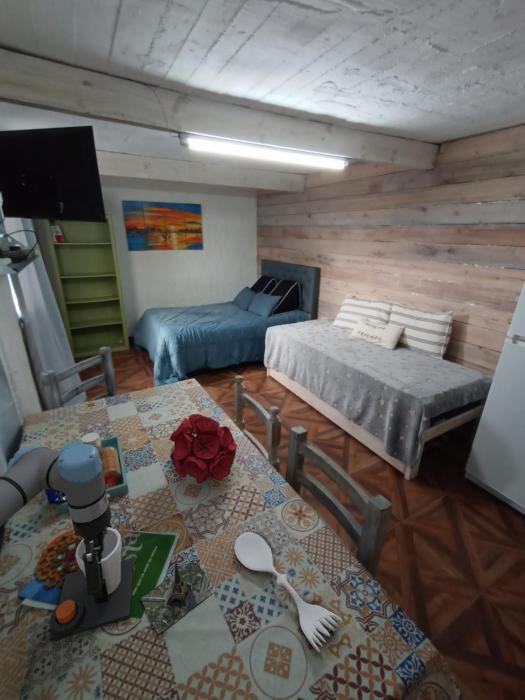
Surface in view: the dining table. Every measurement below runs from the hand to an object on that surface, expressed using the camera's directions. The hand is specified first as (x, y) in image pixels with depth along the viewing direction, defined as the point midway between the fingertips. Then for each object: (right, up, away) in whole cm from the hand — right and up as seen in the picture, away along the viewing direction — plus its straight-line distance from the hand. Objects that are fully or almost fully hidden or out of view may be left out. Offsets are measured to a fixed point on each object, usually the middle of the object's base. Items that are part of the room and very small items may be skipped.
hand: (105, 578), depth 77 cm
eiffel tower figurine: (+18, -4, 0) cm, 19 cm away
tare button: (-5, -3, -7) cm, 9 cm away
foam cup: (0, -2, +1) cm, 2 cm away
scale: (-1, -3, -1) cm, 4 cm away
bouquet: (+16, +11, +39) cm, 44 cm away
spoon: (+43, -4, +2) cm, 43 cm away
